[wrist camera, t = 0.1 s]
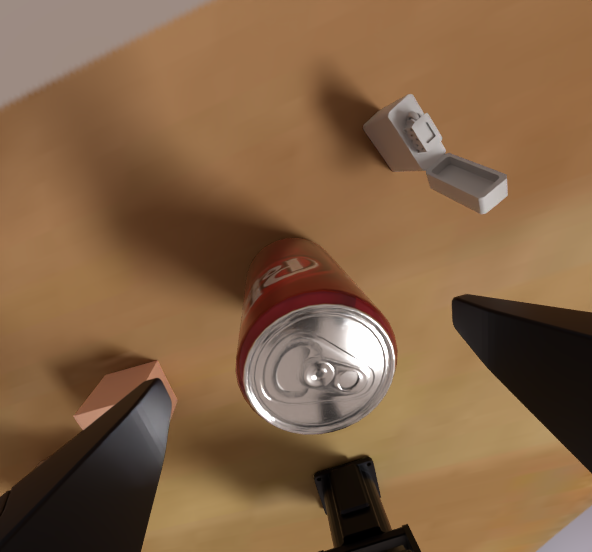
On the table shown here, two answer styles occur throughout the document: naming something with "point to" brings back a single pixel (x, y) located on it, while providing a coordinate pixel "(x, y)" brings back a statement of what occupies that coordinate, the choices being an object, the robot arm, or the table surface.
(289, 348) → the soda can
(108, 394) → the terracotta cube
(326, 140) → the table surface
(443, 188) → the lighter
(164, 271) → the table surface
